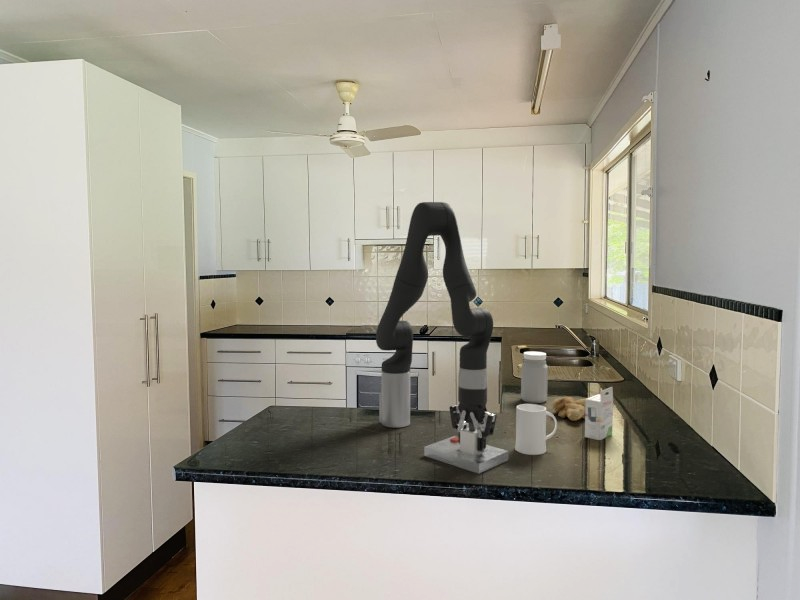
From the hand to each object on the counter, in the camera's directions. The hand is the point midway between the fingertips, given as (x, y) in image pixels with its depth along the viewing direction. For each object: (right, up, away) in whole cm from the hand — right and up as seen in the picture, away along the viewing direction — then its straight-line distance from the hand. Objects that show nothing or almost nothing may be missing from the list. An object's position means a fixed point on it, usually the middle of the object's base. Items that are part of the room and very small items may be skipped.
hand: (472, 447), depth 146 cm
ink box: (+41, -2, +21) cm, 46 cm away
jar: (+32, +1, +63) cm, 70 cm away
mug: (+19, -3, +8) cm, 21 cm away
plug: (0, -3, 0) cm, 3 cm away
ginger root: (+39, -1, +42) cm, 57 cm away
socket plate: (-1, -3, +2) cm, 4 cm away
